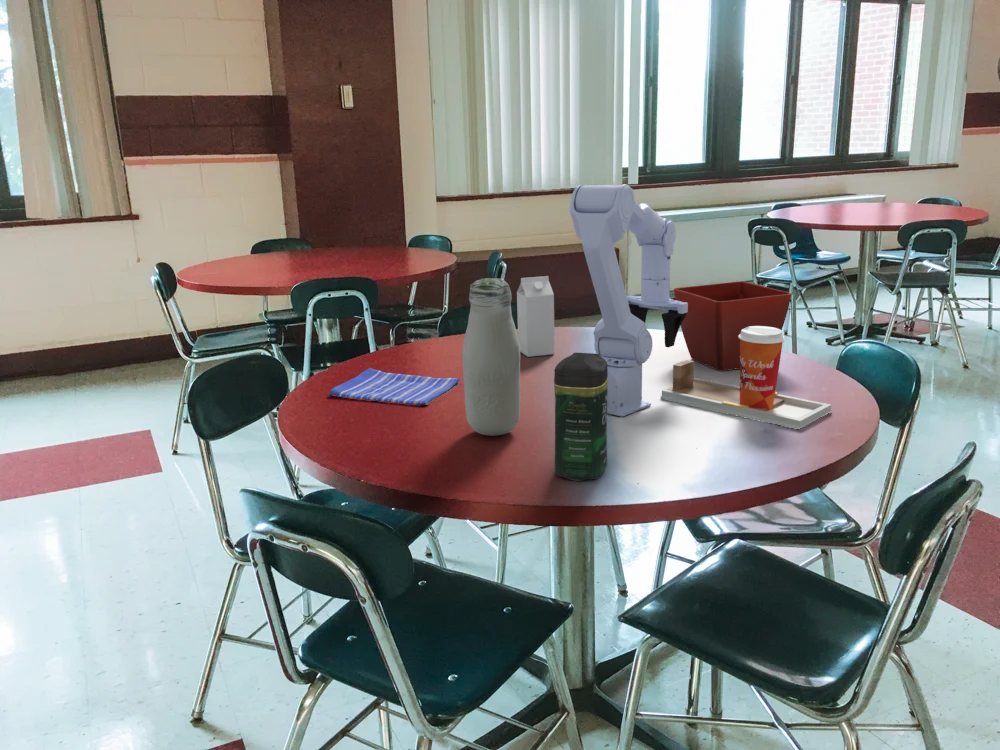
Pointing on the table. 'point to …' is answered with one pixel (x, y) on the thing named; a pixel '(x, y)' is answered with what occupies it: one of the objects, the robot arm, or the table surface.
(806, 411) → the board
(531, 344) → the milk carton
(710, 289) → the plant pot
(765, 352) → the coffee cup
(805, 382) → the table surface
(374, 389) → the dish towel
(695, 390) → the wooden l-shaped board
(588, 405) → the coffee jar
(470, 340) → the glass bottle
